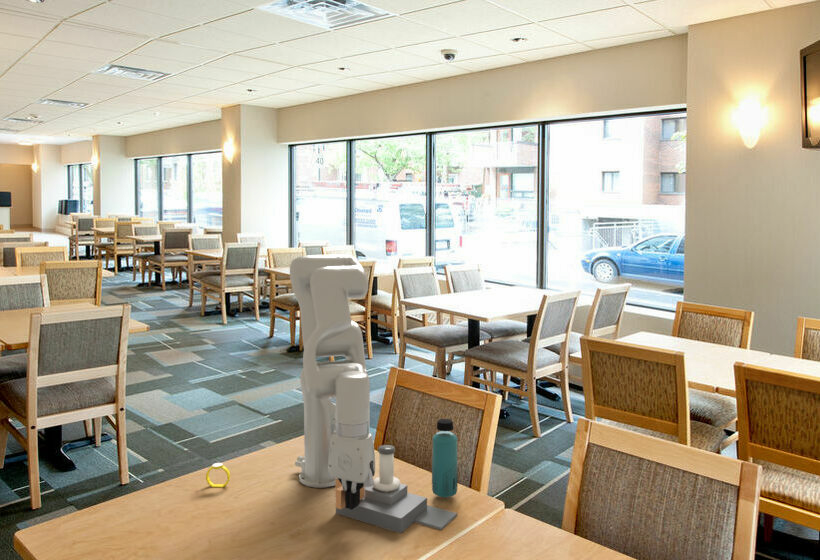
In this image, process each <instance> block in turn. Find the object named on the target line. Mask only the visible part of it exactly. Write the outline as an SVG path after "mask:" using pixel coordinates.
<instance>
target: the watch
mask: <svg viewBox="0 0 820 560" xmlns="http://www.w3.org/2000/svg"><path fill="white" fill-rule="evenodd" d="M220 469H221V470H223V471H224V472H225V473H226V476H227V480H226V482H225V483H221V484H219V483H218V484H217V483H213V482H212V481H211V479H210V472H211V470H220ZM205 480H206V483H207V484H208V486H209V487H211V488H225V487H226V486H227V485H228V484H229V482H230V480H231V472H230V470H229V469H228V468H227V467H226V466H225V465H224V464H223V462H216V463H213V464H212V465H211V466H210V467H209V469H208V470H207V472H206V474H205Z"/></svg>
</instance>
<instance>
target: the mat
mask: <svg viewBox="0 0 820 560" xmlns="http://www.w3.org/2000/svg"><path fill="white" fill-rule="evenodd" d="M457 516H458V513H457V512H454V511H451V510H446V509H443V508H440V507H435V506H432V505H429V504H427V510H426V511H424V512H423V513H422V514H421V515H420V516H418V517H417V518H416V519H415V520H414V523H416V524H420V525H423V526H426V527H430V528H432V527H433V529H435V530H436V529H437V530H439V531H442V530H443V529H444V528H445V527H446V526H448V525H449V522H450V523H451V522H452V521H453V520H454V519H455V518H456V517H457Z"/></svg>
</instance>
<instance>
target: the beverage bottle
mask: <svg viewBox="0 0 820 560" xmlns="http://www.w3.org/2000/svg"><path fill="white" fill-rule="evenodd" d="M436 423H437V424H436V430H438V432H436V433H435V434H434V435H433V436H432V459H431V461H432V463H431V466H432V467H431V488H432V489H431V491H432V493H433V494H434V495H435V496H437V497H441V498H450V497H453V496H456V494H457V492H458V483H459V482H458V475H459V474H458V472H459V471H458V470H459V469H458V467H459V466H458V458H459V457H458V437H457V435H456V434H454V433H453V432H452V431H453V430H454V422H453V420H452V419H450V418H441V419H438V420H437V422H436Z"/></svg>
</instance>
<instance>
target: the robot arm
mask: <svg viewBox="0 0 820 560" xmlns="http://www.w3.org/2000/svg"><path fill="white" fill-rule="evenodd" d="M289 279H290V284H291V288H292V291H293V293H294V295H295V297H296V300H297V303H298V306H299V310H300V311H299V312H300V313H299V314H300V324H301V325H300V326H301V335H302V346H303V355H302V365H303V366H302V367H303V368H302V370H301V372H300V377H299V378H300V388H301V393H302V400H303V401H302V403H303V413H304V414H303V418H304V419H303V424H304V426H303V428H304V430H303V431H304V434H303V435H304V438H303V439H304V456H302V455H298V456H297V458H296V460H295V462H294V466H295V467H299V468H301V471H300V472H299V475H298V480H299V482H300V483H301V484H302V485H303V486H306V487H309V488H310V487H311V488H317V489H318V488H319V489H322V488H330V487H335V479H338V480H339V481H340V483H341V484H342V488H343V490H344V491H345V507H346V508H349V509H351V510H352V509H354V508H355V507H357V506H358V505H359V503H360V489H361V488H362V487H370V486H372V485H373V484H374V481H373V480H374V476H375V473H376V456H375V455H376V454H375V445H374V439H373V436H372V434H371V433H370V405H371V404H370V403H371V402H370V397H371V396H370V393H371V392H370V391H371V390H370V387H371V386H370V384H371V382H370V377H369V375H368V371H367V364H366V355H365V354H366V353H365V345H364V340H363V339H364V338H363V337H364V336H363V333H362V328H361V327H360V326H359V324H358V323H357V322H356V321H354V320H352V316H351V311H350V306H349V305H350V304H349V300H353V299H354V300H356V299H362V298H365V297H366V295H367V294H368V292H369V291H368V290H369V279H368V275H367V273H366V271H365V268H364V267H363V265H362V264H361V263H360V262H359V261H358V260H357V259H356V258H355V257H354V256H353V255H350V254H307V255H300V256H297V257H296V258H294V259H292V261H291V263H290V265H289ZM326 357H327V358H328V357H344V358H345V360H331V361H319V362H317V358H326ZM332 399H335V403H333V402H332Z"/></svg>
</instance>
